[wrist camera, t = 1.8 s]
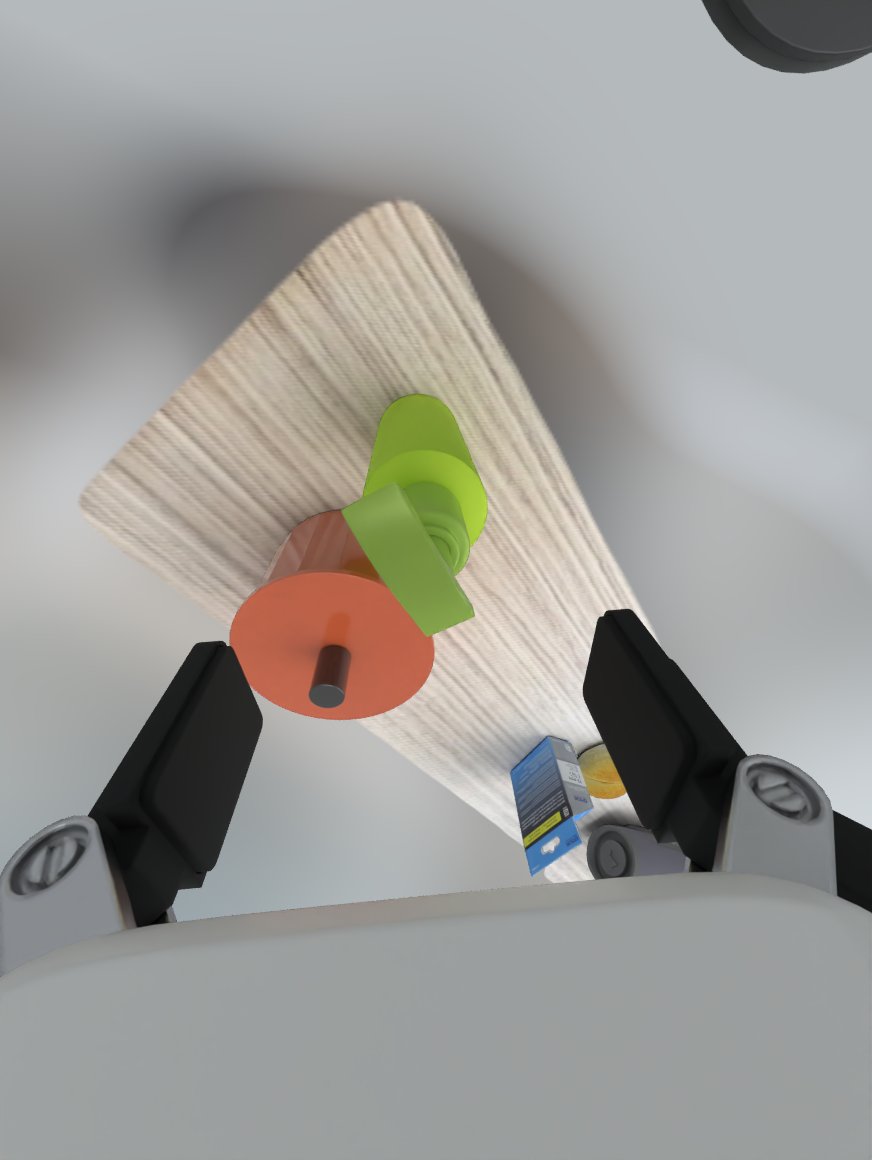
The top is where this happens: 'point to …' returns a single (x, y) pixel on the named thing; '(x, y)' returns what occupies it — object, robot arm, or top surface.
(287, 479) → the top surface
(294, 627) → the pot lid
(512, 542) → the top surface
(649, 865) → the bluetooth speaker
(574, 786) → the label tape box
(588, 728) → the top surface
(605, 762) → the bread roll
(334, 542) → the pot
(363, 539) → the soap dispenser
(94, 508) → the top surface
